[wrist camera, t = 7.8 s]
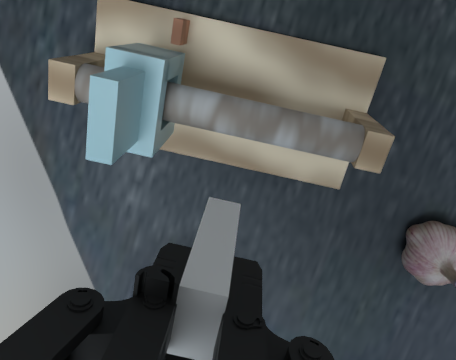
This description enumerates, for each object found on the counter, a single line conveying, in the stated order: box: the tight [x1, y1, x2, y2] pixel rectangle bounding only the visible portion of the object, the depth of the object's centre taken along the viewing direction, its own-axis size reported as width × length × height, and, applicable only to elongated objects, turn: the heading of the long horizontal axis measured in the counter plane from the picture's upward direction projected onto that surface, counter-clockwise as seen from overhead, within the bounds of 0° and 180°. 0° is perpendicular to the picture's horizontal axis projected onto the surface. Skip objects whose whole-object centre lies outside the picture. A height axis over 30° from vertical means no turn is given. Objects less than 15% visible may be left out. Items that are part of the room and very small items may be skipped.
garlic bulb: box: [401, 221, 456, 288], centre depth 37 cm, size 8×7×8 cm
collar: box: [86, 43, 185, 165], centre depth 27 cm, size 7×4×12 cm, turn 169°
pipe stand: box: [48, 0, 395, 189], centre depth 32 cm, size 13×26×10 cm, turn 79°
